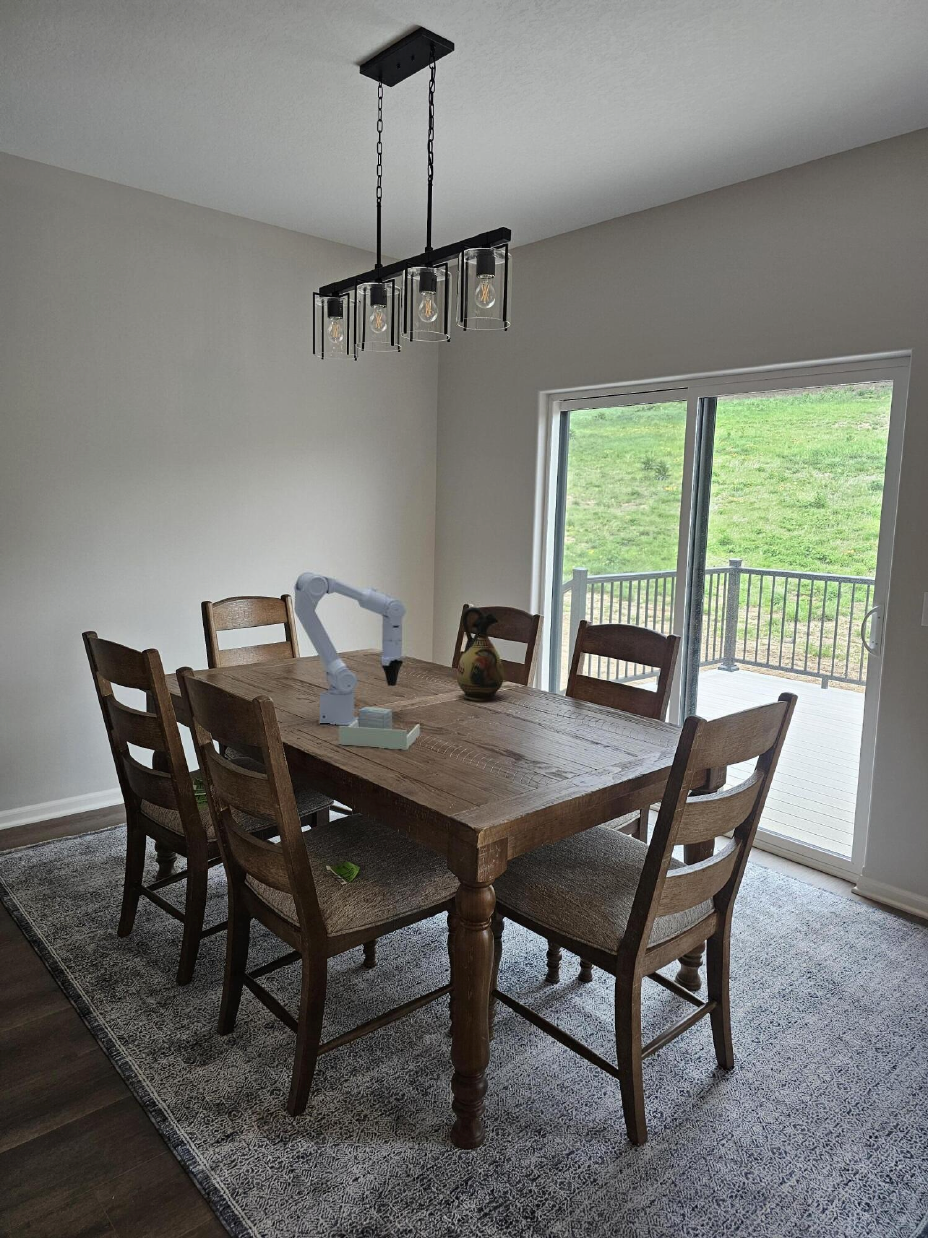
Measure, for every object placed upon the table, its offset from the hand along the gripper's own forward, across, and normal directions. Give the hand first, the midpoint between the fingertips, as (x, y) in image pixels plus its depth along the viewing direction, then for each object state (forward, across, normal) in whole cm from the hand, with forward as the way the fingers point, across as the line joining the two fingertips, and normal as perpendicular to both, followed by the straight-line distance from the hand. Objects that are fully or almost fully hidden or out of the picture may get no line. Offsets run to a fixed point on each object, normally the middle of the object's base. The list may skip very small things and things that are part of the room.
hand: (391, 685), depth 240 cm
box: (+9, -24, -4) cm, 27 cm away
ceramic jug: (+10, +31, -20) cm, 38 cm away
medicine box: (+10, -26, -3) cm, 28 cm away
